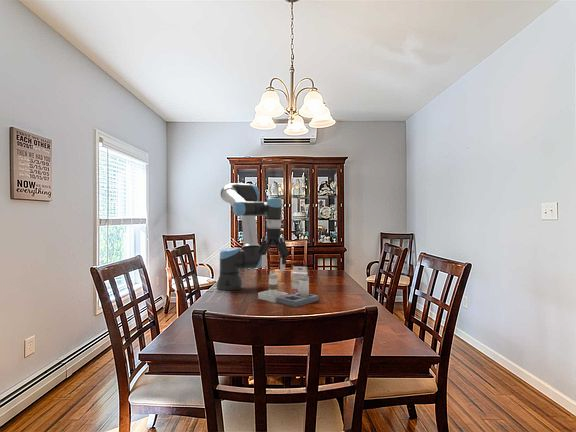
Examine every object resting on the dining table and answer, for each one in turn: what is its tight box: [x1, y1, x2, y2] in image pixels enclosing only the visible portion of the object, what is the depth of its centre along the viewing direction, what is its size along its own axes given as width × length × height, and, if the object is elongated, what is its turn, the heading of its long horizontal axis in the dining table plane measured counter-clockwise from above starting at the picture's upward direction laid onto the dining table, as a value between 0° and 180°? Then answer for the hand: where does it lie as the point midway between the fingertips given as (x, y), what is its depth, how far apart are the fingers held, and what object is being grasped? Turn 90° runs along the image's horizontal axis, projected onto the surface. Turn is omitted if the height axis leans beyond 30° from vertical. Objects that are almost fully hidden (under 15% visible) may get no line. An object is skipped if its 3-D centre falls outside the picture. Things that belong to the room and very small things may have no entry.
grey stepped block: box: [291, 265, 309, 294], centre depth 201 cm, size 9×5×15 cm, turn 84°
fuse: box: [300, 276, 310, 297], centre depth 185 cm, size 5×5×12 cm
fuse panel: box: [276, 292, 320, 308], centre depth 182 cm, size 12×18×3 cm, turn 138°
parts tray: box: [257, 290, 289, 303], centre depth 187 cm, size 12×10×3 cm
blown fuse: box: [268, 273, 279, 296], centre depth 187 cm, size 5×5×12 cm
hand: (272, 268), depth 187 cm, fingers open, 13 cm apart
